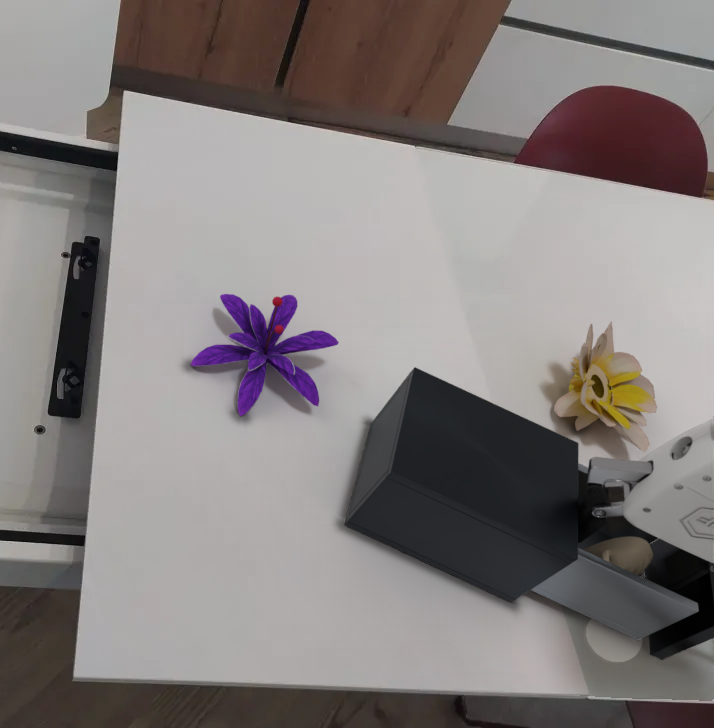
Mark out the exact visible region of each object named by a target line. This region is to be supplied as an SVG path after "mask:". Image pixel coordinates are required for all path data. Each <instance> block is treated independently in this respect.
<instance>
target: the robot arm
mask: <svg viewBox="0 0 714 728" xmlns="http://www.w3.org/2000/svg"><path fill="white" fill-rule="evenodd" d="M587 467H588V474H587V494H588V497H589V498H588V499H587V500H585V501H584V502H583V503H581V504H580V505H579V506H578V543H581V542H582V541H584V540H585V539H586V538H588V537H589V536H591V535H592V534H593V533H595V532H596V531H598V530H599V529H600V528H602V527H603V526H605V524H606V517H617V516H624V517H625V518H626V520H627V521H629V522H630V523H631V524H632V525H634V526H636V527H637V528H639V529H641V530H643V531H645V532H647V533H649V534H651V535H653V536H655V537H657V538H658V539H662V540H664V541H666V542H668V543H670V544H672V545H674V546H676V547H678V548H680V549H679V550H678V551H676V552H675V553H673V554H671V555H670V556H668V557H667V558H666V571H667V582H668V585H669V587H670V588H672V589H675V590H678V589H680V588H681V587H683V586H685V585H687V584H689V583H691V582H692V581H694V580H696V579H698V578H700V577H701V576H703V575H705V574H707V573H709V571H712V572H714V417H713V418H711V419H709V420H707V421H705V422H702V423H699V424H698V425H696V426H693V427H691V428H690V429H688V430H685V431H683V432H682V433H680V434H678V435H676V436H675V437H673V438H671V439H670V440H668V441H666V442H665V443H663V444H661V445H660V446H658V447H656V448H654V449H653V450H652V451H651V452H649V453H648V454H646V455H645V456H644V457H642V458H641V459H639V460H629V459H619V458H611V457H610V458H609V457H599V456H593V457H591V458H590V459H589V460H588V466H587ZM606 480H616V481H617V482H609V483H604V482H605V481H606ZM619 495H624V501H622V502H613V503H609V497H610V496H619Z"/></svg>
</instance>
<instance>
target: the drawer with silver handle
mask: <svg viewBox="0 0 714 728" xmlns="http://www.w3.org/2000/svg"><path fill="white" fill-rule="evenodd" d="M587 474H588V466H585V465H583V464H581V463H579V462H578V506H579V505H580V504H581V503H583V502H584V501H585V500H587V499H588V498H589V497H588V494H587ZM617 481H618V480H606V481H605V482H604V483H609V482H617ZM622 501H624V495H619V496H610V497H609V503H613V502H622ZM628 536H633V537H639V538H642V539H644V540H646V541H647V542H648V543H649V545H650V547H651V550H652V552H653V557H652V560H651V562H650V563H649V565H648V567H647V568H646V569H644V577H642V575H641V574H639V575H636V574H634V573H632V572H630V571H627V570H625V569H623V568H621V567H619V566H617V565H615V564H612V563H610V562H608V561H606V560H604V559H602V558H599V557H597V556H595V555H593V554H591V553H589V552H587V551H584V550H583V549H585V548H588V547H590V546H592V545H595V544H597V543H600V542H602V541H605V540H609V539H613V538H618V537H628ZM679 549H680V548H678V547H676V546H674V545H672V544H670V543H668V542H666V541H664V540H662V539H659V538H657V537H655V536H653V535H651V534H649V533H647V532H645V531H643V530H641V529H639V528H637V527H636V526H634V525H632V524H631V523H630V522H629V521H627V520H626V518H625V517H624V516H617V517H606V524H605V526H603V527H602V528H600V529H599V530H598V531H596V532H595V533H593V534H592V535H591V536H589V537H588V538H586V539H585V540H584V541H582V542H581V543H578V559H577V560H576V561H575V562H573V563H571V564H570V565H568V566H567V567H565V568H564V569H562V570H561V571H559V572H558V573H556V574H555V575H553V576H552V577H550V578H548V579H547V580H545V581H544V582H542V583H541V584H539V585H538V586H536V587H535V588H533V589H531V590H530V591H532V592H534V593H536V594H538V595H540V596H543V597H544V598H547V599H549V600H551V601H553V602H555V603H558V604H560V605H562V606H564V607H566V608H568V609H570V610H572V611H575V612H577V613H579V614H582V615H583V616H586V617H588V618H590V619H592V620H594V621H596V622H598V623H600V624H602V625H604V626H607V627H609V628H611V629H614V630H616V631H618V632H620V633H622V634H624V635H626V636H629V637H631V638H633V639H635V640H637V641H640V640H642V639H644V638H645V637H648V644H649V645H648V646H649V648H648V649H649V656H652V657H654V658H656V659H658V660H660V661H663V660H666V659H668V658H671V657H673V656H675V655H678V654H680V653H682V652H685V651H687V650H689V649H691V648H694V647H696V646H699V645H701V644H703V643H705V642H708V641H711V640H713V639H714V572H712V571H709V573H707V574H705V575H703V576H701V577H700V578H698V579H696V580H694V581H692V582H691V583H689V584H687V585H685V586H683V587H681V588H680V589H678V590H675V589H672V588H670V587H669V585H668V582H667V571H666V558H667V557H668V556H670V555H671V554H673V553H675V552H676V551H678V550H679Z"/></svg>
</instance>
